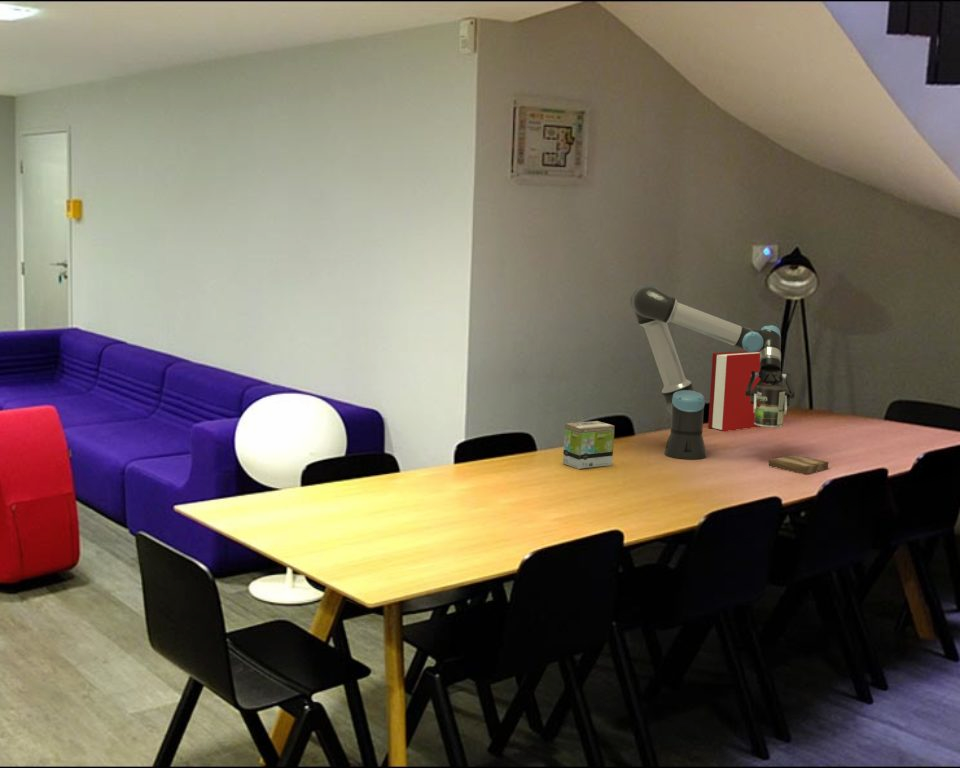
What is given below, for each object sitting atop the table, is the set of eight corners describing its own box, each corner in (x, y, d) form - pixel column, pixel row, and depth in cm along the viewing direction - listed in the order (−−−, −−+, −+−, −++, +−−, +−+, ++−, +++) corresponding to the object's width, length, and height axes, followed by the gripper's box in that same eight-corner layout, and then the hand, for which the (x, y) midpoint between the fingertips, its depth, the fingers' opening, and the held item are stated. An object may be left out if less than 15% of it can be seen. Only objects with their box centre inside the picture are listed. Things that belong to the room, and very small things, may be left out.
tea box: (579, 470, 374) (581, 428, 372) (562, 464, 383) (563, 423, 380) (613, 465, 383) (615, 424, 380) (595, 459, 391) (597, 419, 389)
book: (722, 431, 450) (727, 355, 445) (707, 428, 456) (712, 353, 451) (766, 426, 465) (772, 352, 460) (752, 422, 472) (757, 350, 467)
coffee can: (765, 428, 387) (767, 389, 385) (748, 422, 397) (750, 384, 395) (789, 426, 391) (791, 388, 389) (771, 421, 401) (774, 383, 398)
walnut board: (805, 474, 377) (806, 467, 377) (768, 466, 388) (768, 459, 388) (827, 468, 388) (828, 461, 387) (790, 461, 398) (791, 453, 398)
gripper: (800, 369, 404) (801, 419, 391) (738, 366, 408) (737, 415, 395) (802, 357, 398) (803, 407, 385) (739, 354, 402) (738, 403, 389)
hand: (770, 411), depth 390 cm, fingers closed on coffee can, 10 cm apart
